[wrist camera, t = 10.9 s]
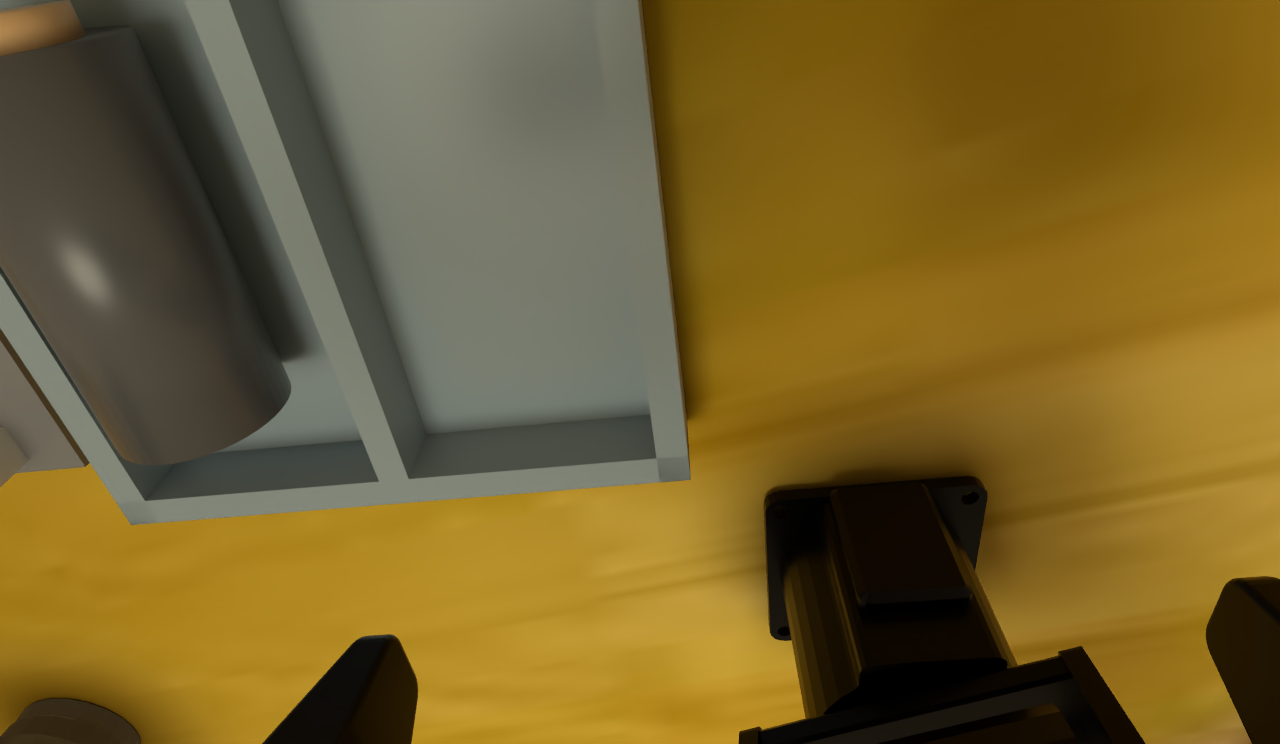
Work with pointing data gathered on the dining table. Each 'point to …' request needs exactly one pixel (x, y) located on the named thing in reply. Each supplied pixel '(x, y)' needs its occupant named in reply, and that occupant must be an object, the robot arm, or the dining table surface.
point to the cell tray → (416, 250)
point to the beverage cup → (69, 725)
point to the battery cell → (124, 245)
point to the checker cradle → (30, 423)
